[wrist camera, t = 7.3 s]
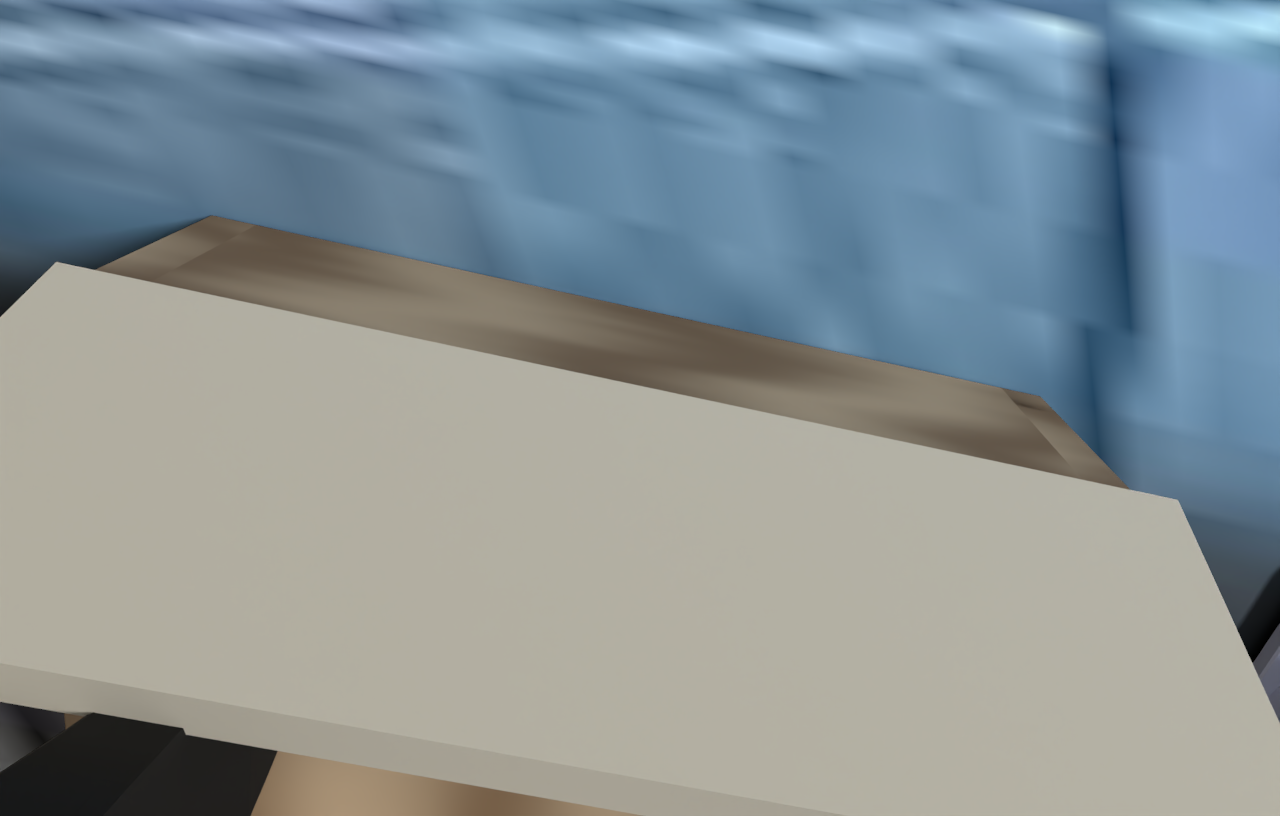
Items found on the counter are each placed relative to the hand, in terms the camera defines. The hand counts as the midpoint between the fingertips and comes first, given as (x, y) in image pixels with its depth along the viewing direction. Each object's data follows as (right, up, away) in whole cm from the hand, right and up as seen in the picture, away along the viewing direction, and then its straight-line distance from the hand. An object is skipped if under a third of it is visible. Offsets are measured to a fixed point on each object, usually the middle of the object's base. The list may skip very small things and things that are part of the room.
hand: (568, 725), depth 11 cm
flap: (+1, +2, -1) cm, 2 cm away
